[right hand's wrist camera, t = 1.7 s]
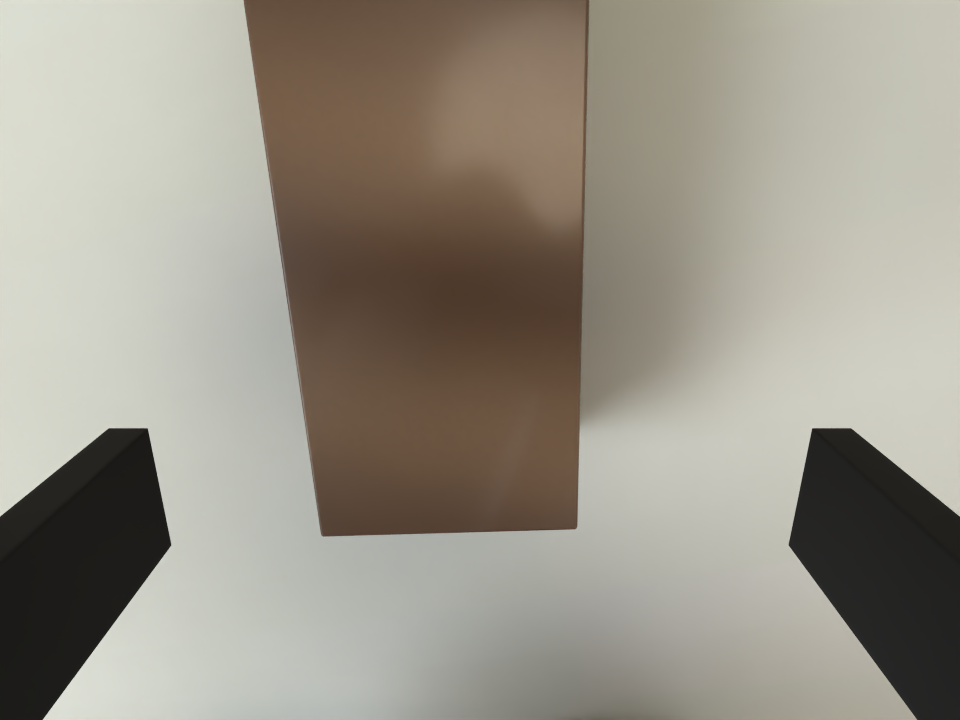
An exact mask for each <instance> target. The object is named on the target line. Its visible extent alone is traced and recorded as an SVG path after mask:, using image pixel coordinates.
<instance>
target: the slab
mask: <svg viewBox="0 0 960 720" xmlns="http://www.w3.org/2000/svg"><path fill="white" fill-rule="evenodd" d="M244 6H245V13H246V20H247V27H248V34H249V41H250V47H251V54H252V61H253V68H254V75H255V82H256V89H257V96H258V103H259V110H260V116H261V123H262V130H263V137H264V144H265V151H266V158H267V165H268V172H269V179H270V185H271V192H272V199H273V206H274V213H275V220H276V227H277V234H278V241H279V247H280V254H281V261H282V268H283V275H284V282H285V289H286V296H287V303H288V310H289V316H290V323H291V330H292V337H293V344H294V351H295V358H296V365H297V372H298V379H299V385H300V392H301V399H302V406H303V413H304V420H305V427H306V434H307V441H308V448H309V454H310V461H311V468H312V475H313V482H314V489H315V496H316V503H317V510H318V516H319V523H320V530H321V535H322V536H356V535H390V534H425V533H460V532H494V531H529V530H564V529H576V528H577V515H578V471H579V426H580V382H581V337H582V293H583V248H584V204H585V159H586V115H587V71H588V26H589V0H244Z"/></svg>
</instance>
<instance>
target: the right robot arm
mask: <svg viewBox="0 0 960 720" xmlns="http://www.w3.org/2000/svg"><path fill="white" fill-rule="evenodd" d="M170 546H171V541H170V536H169V531H168V526H167V521H166V517H165V512H164V507H163V502H162V497H161V492H160V487H159V482H158V477H157V472H156V467H155V462H154V457H153V452H152V447H151V443H150V438H149V433H148V428H109V429H108V430H106V431H105V432H104V433H103V434H101V435H100V436H99V437H98V438H96V439H95V440H94V441H93V442H92V443H90V444H89V445H88V446H87V447H85V448H84V449H83V450H82V451H80V452H79V453H78V454H77V455H76V456H74V457H73V458H72V459H71V460H69V461H68V462H67V463H66V464H64V465H63V466H62V467H61V468H60V469H58V470H57V471H56V472H55V473H53V474H52V475H51V476H50V477H49V478H47V479H46V480H45V481H44V482H42V483H41V484H40V485H39V486H37V487H36V488H35V489H34V490H33V491H31V492H30V493H29V494H28V495H26V496H25V497H24V498H23V499H21V500H20V501H19V502H18V503H17V504H15V505H14V506H13V507H12V508H10V509H9V510H8V511H7V512H5V513H4V514H3V515H2V516H1V517H0V720H43V718H44V717H45V716H46V714H47V713H48V712H49V710H50V709H51V708H52V706H53V705H54V704H55V702H56V701H57V699H58V698H59V697H60V695H61V694H62V693H63V691H64V690H65V689H66V687H67V686H68V685H69V683H70V682H71V681H72V679H73V678H74V676H75V675H76V674H77V672H78V671H79V670H80V668H81V667H82V666H83V664H84V663H85V662H86V660H87V659H88V657H89V656H90V655H91V653H92V652H93V651H94V649H95V648H96V647H97V645H98V644H99V643H100V641H101V640H102V638H103V637H104V636H105V634H106V633H107V632H108V630H109V629H110V628H111V626H112V625H113V624H114V622H115V621H116V620H117V618H118V617H119V615H120V614H121V613H122V611H123V610H124V609H125V607H126V606H127V605H128V603H129V602H130V601H131V599H132V598H133V596H134V595H135V594H136V592H137V591H138V590H139V588H140V587H141V586H142V584H143V583H144V582H145V580H146V579H147V578H148V576H149V575H150V573H151V572H152V571H153V569H154V568H155V567H156V565H157V564H158V563H159V561H160V560H161V559H162V557H163V556H164V554H165V553H166V552H167V550H168V549H169V548H170ZM789 546H790V548H791V549H792V550H793V552H794V553H795V554H796V556H797V557H798V559H799V560H800V561H801V563H802V564H803V565H804V567H805V568H806V569H807V571H808V572H809V573H810V575H811V576H812V578H813V579H814V580H815V582H816V583H817V584H818V586H819V587H820V588H821V590H822V591H823V592H824V594H825V595H826V596H827V598H828V599H829V601H830V602H831V603H832V605H833V606H834V607H835V609H836V610H837V611H838V613H839V614H840V615H841V617H842V618H843V620H844V621H845V622H846V624H847V625H848V626H849V628H850V629H851V630H852V632H853V633H854V634H855V636H856V637H857V639H858V640H859V641H860V643H861V644H862V645H863V647H864V648H865V649H866V651H867V652H868V653H869V655H870V656H871V657H872V659H873V660H874V662H875V663H876V664H877V666H878V667H879V668H880V670H881V671H882V672H883V674H884V675H885V676H886V678H887V679H888V681H889V682H890V683H891V685H892V686H893V687H894V689H895V690H896V691H897V693H898V694H899V695H900V697H901V698H902V699H903V701H904V702H905V704H906V705H907V706H908V708H909V709H910V710H911V712H912V713H913V714H914V716H915V717H916V718H917V720H960V517H959V516H958V515H957V514H956V513H955V512H953V511H952V510H951V509H950V508H948V507H947V506H946V505H945V504H943V503H942V502H941V501H940V500H939V499H937V498H936V497H935V496H934V495H932V494H931V493H930V492H929V491H927V490H926V489H925V488H924V487H923V486H921V485H920V484H919V483H918V482H916V481H915V480H914V479H913V478H911V477H910V476H909V475H908V474H907V473H905V472H904V471H903V470H902V469H900V468H899V467H898V466H897V465H895V464H894V463H893V462H892V461H891V460H889V459H888V458H887V457H886V456H884V455H883V454H882V453H881V452H880V451H878V450H877V449H876V448H875V447H873V446H872V445H871V444H870V443H868V442H867V441H866V440H865V439H864V438H862V437H861V436H860V435H859V434H857V433H856V432H855V431H854V430H852V429H851V428H812V433H811V438H810V443H809V447H808V452H807V457H806V462H805V467H804V472H803V477H802V482H801V487H800V492H799V497H798V502H797V507H796V512H795V517H794V521H793V526H792V531H791V536H790V541H789Z"/></svg>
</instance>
